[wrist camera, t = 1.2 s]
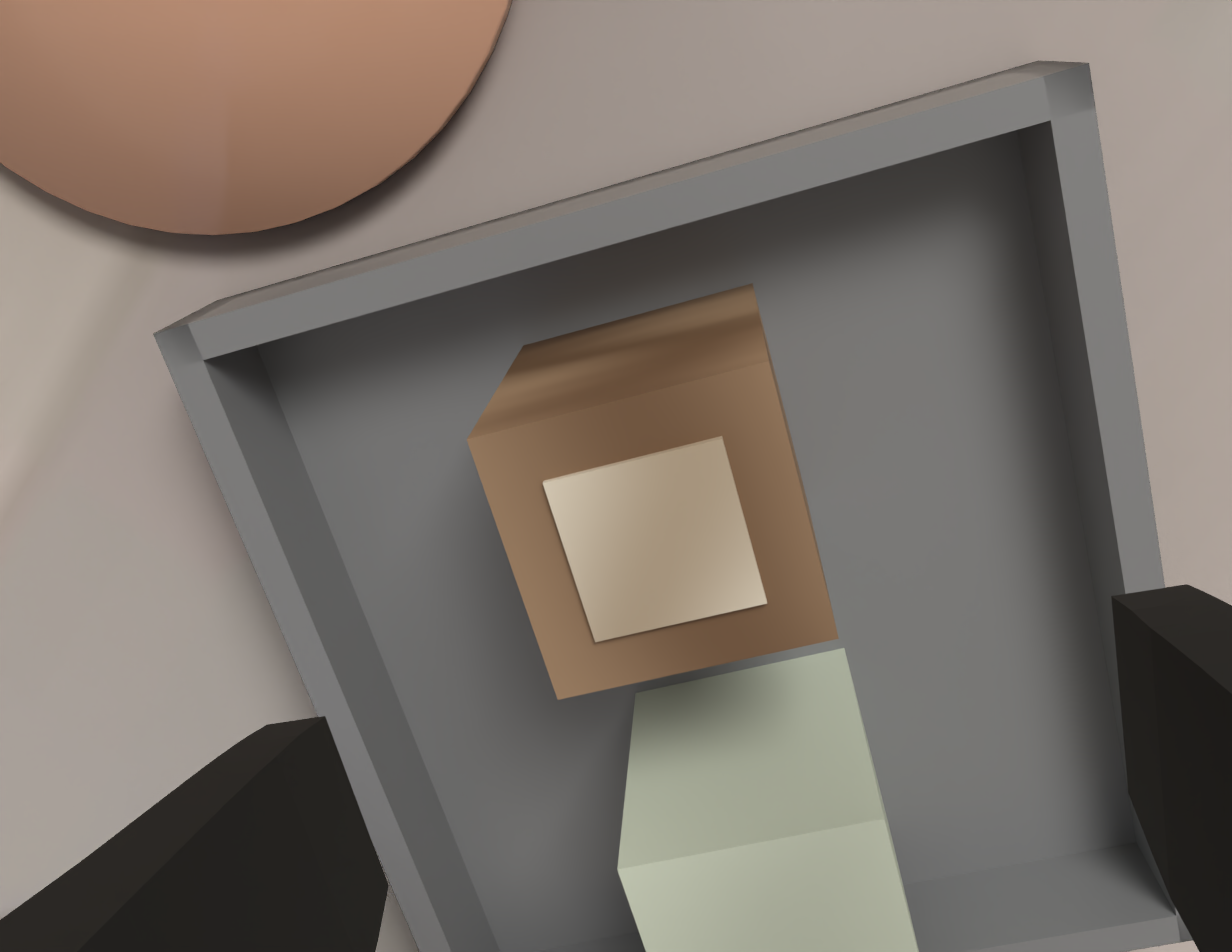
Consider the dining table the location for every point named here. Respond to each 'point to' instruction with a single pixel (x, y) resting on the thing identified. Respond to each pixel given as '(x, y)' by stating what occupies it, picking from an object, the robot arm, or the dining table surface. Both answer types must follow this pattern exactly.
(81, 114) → the saucer
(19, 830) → the dining table surface
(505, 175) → the dining table surface
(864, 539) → the parts bin
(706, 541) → the walnut block
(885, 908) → the sage block
